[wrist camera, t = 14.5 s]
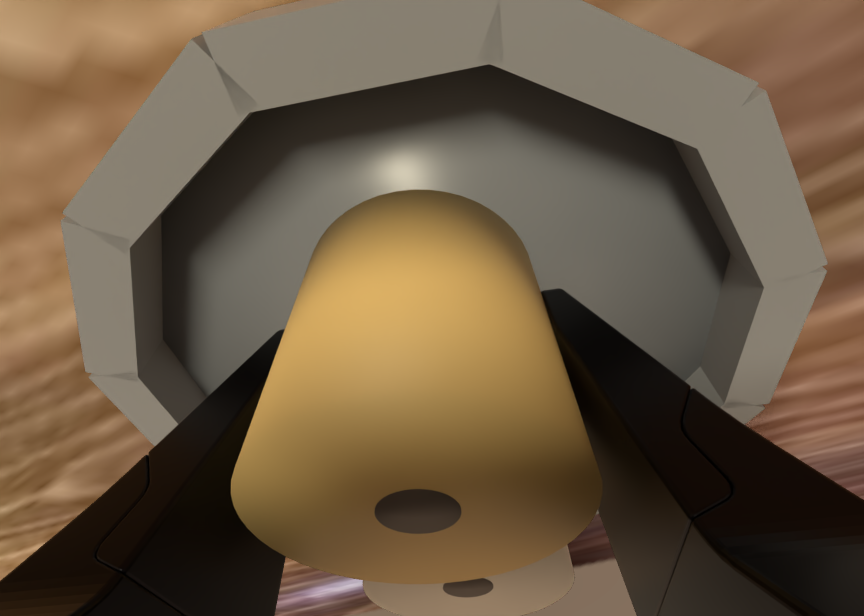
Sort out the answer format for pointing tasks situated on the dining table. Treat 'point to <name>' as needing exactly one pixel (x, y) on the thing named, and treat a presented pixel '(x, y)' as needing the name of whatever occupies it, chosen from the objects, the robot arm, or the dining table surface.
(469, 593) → the cream bead
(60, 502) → the dining table surface
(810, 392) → the dining table surface
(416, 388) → the ochre bead
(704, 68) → the round tray
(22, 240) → the dining table surface
